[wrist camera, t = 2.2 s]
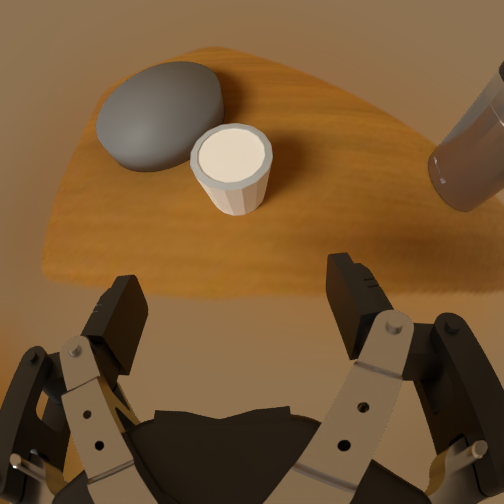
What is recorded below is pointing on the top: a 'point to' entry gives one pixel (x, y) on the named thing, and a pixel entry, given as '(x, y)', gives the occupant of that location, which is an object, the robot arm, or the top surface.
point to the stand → (160, 115)
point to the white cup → (233, 166)
